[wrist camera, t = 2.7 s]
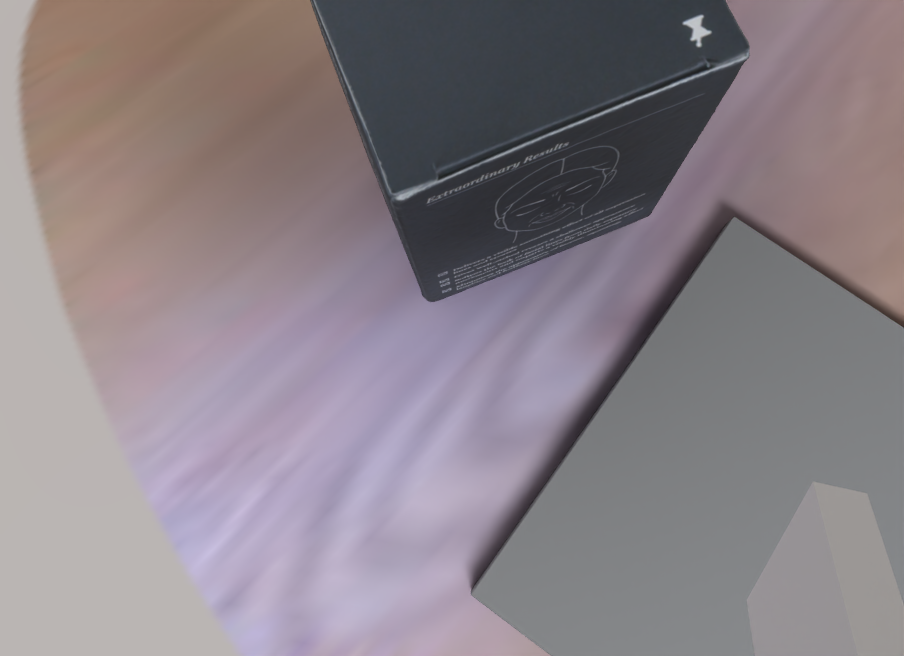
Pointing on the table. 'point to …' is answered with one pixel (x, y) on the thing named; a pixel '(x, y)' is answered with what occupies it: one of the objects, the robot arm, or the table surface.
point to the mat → (709, 462)
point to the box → (525, 117)
